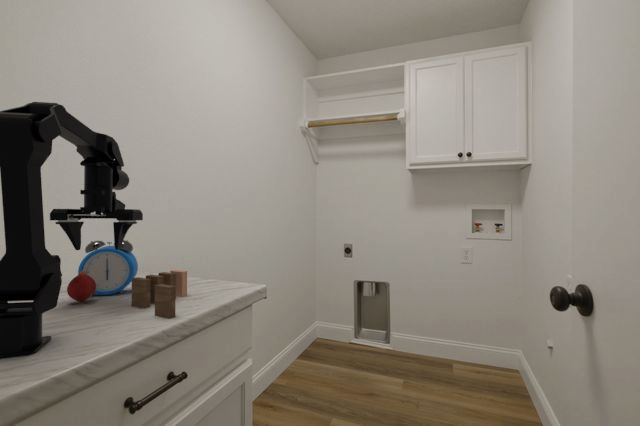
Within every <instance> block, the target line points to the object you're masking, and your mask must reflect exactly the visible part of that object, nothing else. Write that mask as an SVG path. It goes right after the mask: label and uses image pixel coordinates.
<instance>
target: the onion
mask: <svg viewBox="0 0 640 426" xmlns="http://www.w3.org/2000/svg"><path fill="white" fill-rule="evenodd" d="M95 290H96V283H95V281H94V279H93V278H91V277H90V276H88V275H86V272H85V271H81V272H80V273H79V275H78V274H77V275H76V276H74V277H73V278H72V279H71V280H70V281H69V283H68V284H67V288H66V292H67V295H68V296H69V298H71V299H72V300H73V301H76V302H79V303H85V302H86V301H87V300H88V299H89V298H91V297H93V296H92V295H93V294H94V292H95ZM94 295H95V294H94Z"/></svg>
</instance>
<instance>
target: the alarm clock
mask: <svg viewBox="0 0 640 426" xmlns="http://www.w3.org/2000/svg"><path fill="white" fill-rule="evenodd" d="M112 243H113V242H111V241H108V242H107V246H106V243H105V242H104V241H102V240H93V241H90V243H88V244H87V245H86V246H85V248H84V252H85V253H86V255H85V256H84V257H83V258H82V260H81V262H80V264H79V266H78V269H77V275H79V273H80V272H81V271H85V272H86V275H88V276H90V277H91V278H93V279H94V281H95V283H96V290H95V292H94V294H93V295H92V296H91V297H94V296H95V295H99V296H109V295H115V294H116V293H120V294H121V295H122V294H123V292H122V290H124V289H125V288H126V287H128V286H129V285H130V284H132V278H136V276H137V273H138V268H139V267H138V261H137V258H136V256H135V255H134V253H133V252H132V251H133V250H134V246H133V244H132V243H131V242H130V241H129V240H125V239H124V240H123V242H122V245H121V247H120V249H119V250H116V249H115V244H113V245H111V244H112Z"/></svg>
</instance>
